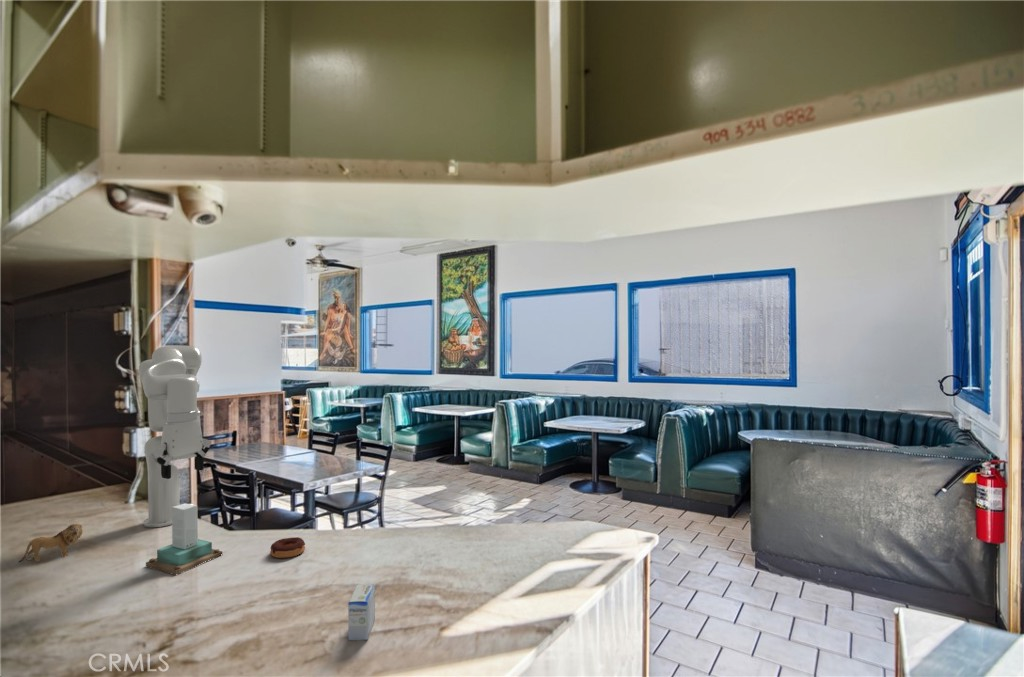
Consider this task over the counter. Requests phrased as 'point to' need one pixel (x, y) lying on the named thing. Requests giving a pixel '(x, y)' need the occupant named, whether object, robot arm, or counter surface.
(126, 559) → the counter surface
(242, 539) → the counter surface
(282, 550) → the donut
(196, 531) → the skincare box
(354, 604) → the medicine box
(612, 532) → the counter surface
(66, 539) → the lion figurine
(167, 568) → the tower base
